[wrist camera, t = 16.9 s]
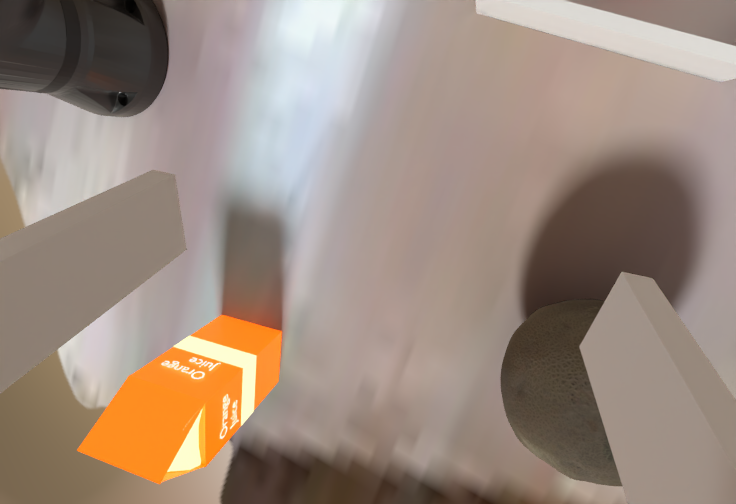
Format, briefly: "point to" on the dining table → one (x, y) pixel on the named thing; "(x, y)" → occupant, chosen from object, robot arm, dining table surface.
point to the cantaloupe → (557, 393)
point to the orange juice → (188, 400)
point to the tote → (637, 29)
